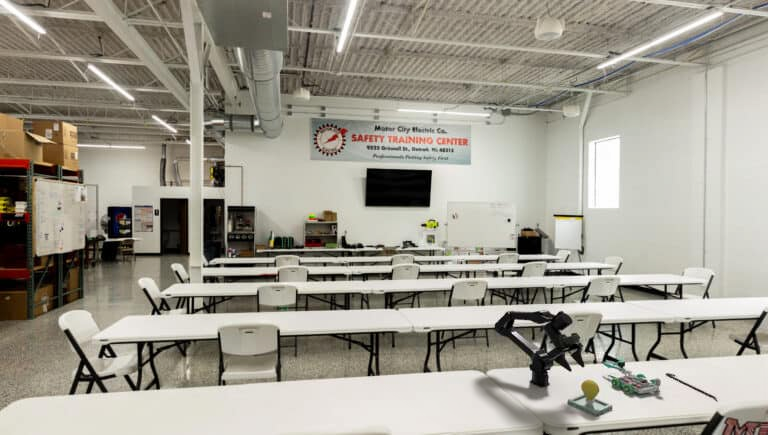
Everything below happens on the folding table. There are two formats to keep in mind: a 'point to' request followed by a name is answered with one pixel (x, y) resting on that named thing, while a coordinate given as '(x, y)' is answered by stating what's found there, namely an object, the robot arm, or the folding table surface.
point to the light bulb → (590, 391)
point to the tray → (595, 410)
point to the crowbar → (690, 385)
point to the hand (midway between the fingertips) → (577, 369)
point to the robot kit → (632, 380)
